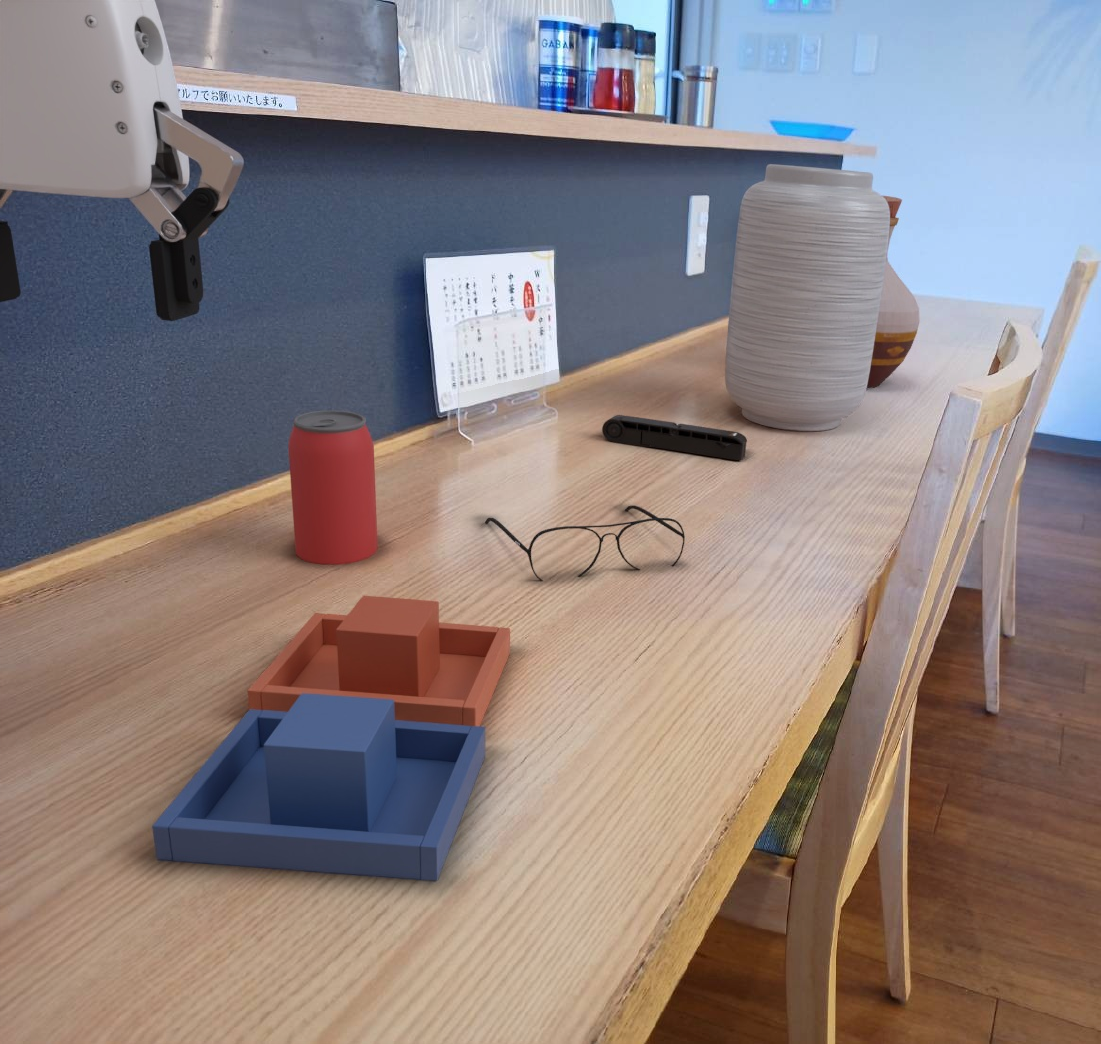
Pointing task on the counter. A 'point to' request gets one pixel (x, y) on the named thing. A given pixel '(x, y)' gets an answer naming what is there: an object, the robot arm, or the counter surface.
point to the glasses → (653, 518)
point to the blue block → (331, 762)
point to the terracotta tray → (450, 699)
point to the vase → (805, 296)
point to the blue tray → (386, 851)
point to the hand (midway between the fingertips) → (87, 309)
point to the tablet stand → (675, 437)
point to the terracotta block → (389, 646)
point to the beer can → (333, 487)
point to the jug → (893, 317)
